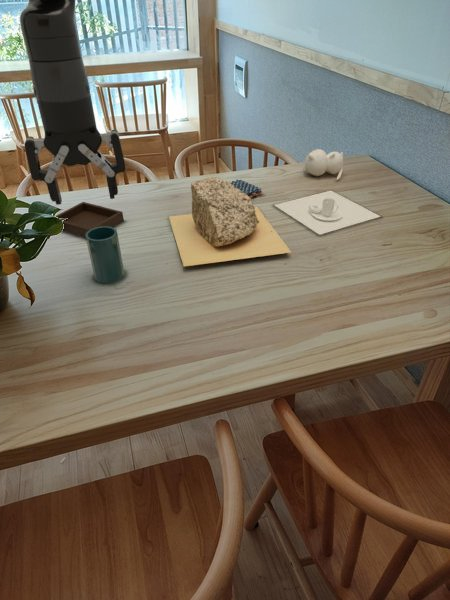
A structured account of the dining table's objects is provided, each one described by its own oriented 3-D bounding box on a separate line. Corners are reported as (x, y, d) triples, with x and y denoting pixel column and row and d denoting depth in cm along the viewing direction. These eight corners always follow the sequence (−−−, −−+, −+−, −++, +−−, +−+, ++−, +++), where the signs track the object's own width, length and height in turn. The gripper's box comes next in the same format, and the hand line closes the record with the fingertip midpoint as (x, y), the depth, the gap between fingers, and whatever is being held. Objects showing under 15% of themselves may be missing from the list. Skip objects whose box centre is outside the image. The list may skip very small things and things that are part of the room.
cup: (88, 278, 94) (78, 236, 89) (108, 264, 99) (100, 223, 93) (111, 286, 92) (102, 243, 86) (130, 271, 96) (123, 230, 90)
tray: (52, 227, 114) (50, 218, 112) (85, 210, 122) (83, 201, 120) (92, 239, 108) (90, 230, 107) (124, 220, 116) (122, 211, 115)
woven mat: (236, 204, 123) (236, 197, 122) (212, 193, 130) (212, 186, 129) (264, 195, 129) (264, 188, 127) (240, 184, 135) (240, 177, 134)
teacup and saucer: (303, 211, 119) (304, 197, 117) (327, 205, 122) (328, 191, 120) (324, 224, 113) (326, 209, 110) (348, 217, 116) (351, 203, 113)
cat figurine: (345, 142, 136) (306, 142, 135) (351, 171, 133) (312, 171, 131) (336, 161, 145) (300, 161, 143) (342, 188, 141) (305, 189, 140)
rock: (166, 215, 118) (193, 158, 111) (235, 244, 127) (264, 193, 120) (180, 265, 95) (216, 197, 88) (264, 296, 104) (301, 236, 98)
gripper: (113, 85, 68) (128, 187, 78) (14, 91, 66) (43, 195, 75) (114, 95, 62) (130, 204, 72) (6, 102, 60) (38, 214, 69)
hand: (85, 199), depth 74 cm, fingers open, 8 cm apart
